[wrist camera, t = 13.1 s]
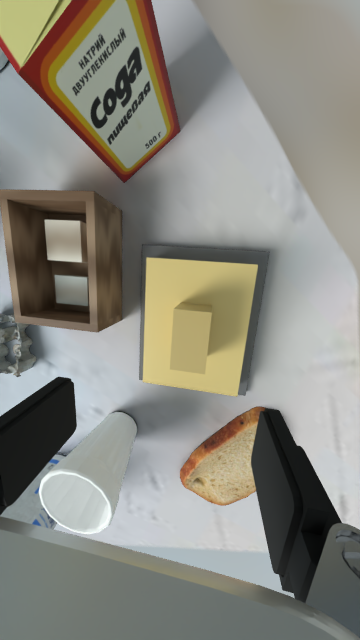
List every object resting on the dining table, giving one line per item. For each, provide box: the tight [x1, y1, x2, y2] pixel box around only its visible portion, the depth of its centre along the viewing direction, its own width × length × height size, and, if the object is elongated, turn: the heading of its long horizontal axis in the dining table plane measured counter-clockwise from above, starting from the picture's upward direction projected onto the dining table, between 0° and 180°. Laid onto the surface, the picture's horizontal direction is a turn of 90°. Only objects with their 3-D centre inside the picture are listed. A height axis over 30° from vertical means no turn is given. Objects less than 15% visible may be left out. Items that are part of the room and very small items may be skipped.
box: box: [0, 190, 122, 332], centre depth 28 cm, size 16×12×7 cm
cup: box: [39, 412, 137, 534], centre depth 30 cm, size 10×10×13 cm
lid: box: [143, 257, 258, 396], centre depth 25 cm, size 18×14×8 cm
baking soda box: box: [0, 0, 180, 183], centre depth 18 cm, size 10×6×16 cm
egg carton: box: [0, 314, 36, 377], centre depth 35 cm, size 11×8×4 cm
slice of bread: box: [180, 407, 265, 505], centre depth 33 cm, size 18×18×4 cm
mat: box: [139, 245, 269, 396], centre depth 30 cm, size 21×17×1 cm
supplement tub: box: [0, 455, 65, 529], centre depth 35 cm, size 10×10×15 cm
